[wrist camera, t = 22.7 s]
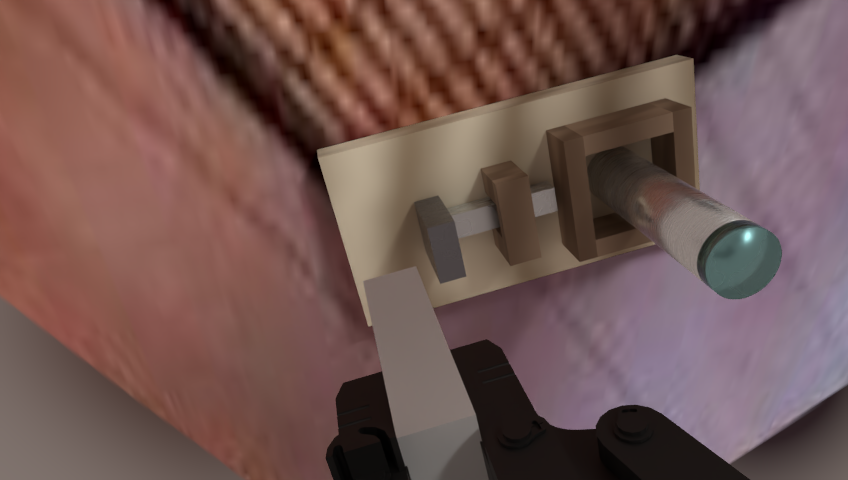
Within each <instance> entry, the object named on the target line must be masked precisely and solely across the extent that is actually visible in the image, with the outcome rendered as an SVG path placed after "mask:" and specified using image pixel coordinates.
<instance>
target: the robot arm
mask: <svg viewBox="0 0 848 480" xmlns="http://www.w3.org/2000/svg"><path fill="white" fill-rule="evenodd" d="M363 283H364V288H365V293H366V298H367V302H368V307H369V312H370V316H371V321H372V326H373V331H374V335H375V340H376V345H377V349H378V354H379V359H380V363H381V368H382V372H379V373H376V374H372V375H369V376H365V377H362V378H358V379H355V380H352V381H348V382H345V383H343V384H342V386H341V389H340V391H339V393H338V395H337V397H336V408H337V416H338V417H337V419H338V427H339V429H338V430H339V435H338V436H336V437H335V438H334V440H333V441H332V442H331V444H330V445H329V447H328V449H327V453H326V460H327V463H328V466H329V469H330V471H331V474H332V477H333V479H334V480H750V479H748V478H747V477H746V476H744V475H743V474H742V473H740V472H739V471H738V470H736V469H735V468H734V467H732V466H731V465H730V464H728V463H727V462H726V461H724V460H723V459H722V458H720V457H719V456H718V455H716V454H715V453H714V452H712V451H711V450H710V449H708V448H707V447H706V446H704V445H703V444H702V443H700V442H699V441H698V440H696V439H695V438H694V437H692V436H691V435H689V434H688V433H687V432H685V431H684V430H683V429H681V428H680V427H679V426H677V425H676V424H675V423H673V422H672V421H671V420H669V419H668V418H667V417H665V416H664V415H663V414H661V413H659V412H657V411H655V410H653V409H652V408H649V407H644V406H639V405H625V406H620V407H617V408H614V409H611V410H609V411H607V412H606V413H605V414H604V415H602V416H601V417H600V419H599V421H598V423H597V425H596V429H586V430H566V429H561V428H557V427H554V426H552V425H550V424H549V423H548V422H547V421H546V420H545V419H544V418H542V417H540V416H538V415H537V413H536V412H535V410H534V408H533V406H532V404H531V402H530V401H529V399H528V397H527V395H526V393H525V391H524V389H523V388H522V386H521V384H520V382H519V380H518V378H517V377H516V375H515V374H514V371H513V369H512V367H511V365H510V364H509V362H508V360H507V358H506V356H505V354H504V352H503V351H502V349H501V348H500V347H498V346H497V345H495V344H493V343H492V342H490V341H489V340H487V339H486V340H483V341H479V342H476V343H473V344H469V345H466V346H462V347H459V348H456V349H452V350H450V349H449V347H448V344H447V342H446V339H445V337H444V334H443V332H442V329H441V327H440V324H439V322H438V319H437V317H436V314H435V312H434V310H433V307H432V305H431V302H430V300H429V297H428V295H427V292H426V290H425V287H424V285H423V282H422V280H421V277H420V275H419V272H418V270H417V267H416V266H414V267H411V268H407V269H404V270H400V271H397V272H393V273H390V274H386V275H383V276H379V277H375V278H372V279H368V280H365V281H363Z"/></svg>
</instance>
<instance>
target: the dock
mask: <svg viewBox="0 0 848 480" xmlns="http://www.w3.org/2000/svg"><path fill="white" fill-rule="evenodd" d="M620 146H621V147H625V148H627V149H629V150H631V151H632V152H634V153H636V154H637V155H639V156H641V157H643V158H644V159H646V160H648V161H649V162H651V163H653V164H655V165H656V166H658V167H660V168H661V169H663V170H665V171H667V172H668V173H670V174H672V175H674V176H675V177H677V178H679V179H680V180H682V181H684V182H686V183H687V184H689V185H691V186H692V187H694V188H696V189H698V190H699V191H700V188H699V167H698V146H697V125H696V104H695V83H694V62H693V58H688V57H684V56H679V55H674V56H670V57H667V58H663V59H659V60H655V61H651V62H648V63H644V64H640V65H636V66H633V67H629V68H625V69H621V70H617V71H614V72H610V73H606V74H602V75H598V76H595V77H591V78H587V79H583V80H580V81H576V82H572V83H568V84H564V85H561V86H557V87H553V88H549V89H546V90H542V91H538V92H534V93H530V94H527V95H523V96H519V97H515V98H512V99H508V100H504V101H500V102H496V103H493V104H489V105H485V106H481V107H477V108H474V109H470V110H466V111H462V112H459V113H455V114H451V115H447V116H443V117H440V118H436V119H432V120H428V121H425V122H421V123H417V124H413V125H409V126H406V127H402V128H398V129H394V130H391V131H387V132H383V133H379V134H375V135H372V136H368V137H364V138H360V139H356V140H353V141H349V142H345V143H341V144H338V145H334V146H330V147H326V148H322V149H319V150H317V154H318V160H319V163H320V167H321V170H322V173H323V177H324V180H325V183H326V187H327V190H328V193H329V197H330V200H331V203H332V207H333V210H334V213H335V217H336V220H337V224H338V227H339V230H340V234H341V237H342V240H343V244H344V247H345V250H346V254H347V257H348V260H349V264H350V267H351V270H352V274H353V277H354V280H355V284H356V287H357V290H358V294H359V297H360V300H361V304H362V307H363V310H364V314H365V317H366V320H367V324H368V327H369V326H372V321H371V316H370V312H369V307H368V302H367V298H366V293H365V288H364V283H363V281H365V280H368V279H372V278H375V277H379V276H383V275H386V274H390V273H393V272H397V271H400V270H404V269H407V268H411V267H414V266H416V267H417V270H418V272H419V275H420V277H421V280H422V282H423V285H424V287H425V290H426V292H427V295H428V297H429V300H430V302H431V305H432V307H433V308H435V307H439V306H442V305H446V304H449V303H453V302H456V301H460V300H463V299H467V298H470V297H474V296H477V295H481V294H484V293H488V292H491V291H495V290H498V289H502V288H505V287H509V286H512V285H515V284H519V283H522V282H526V281H529V280H533V279H536V278H540V277H543V276H547V275H550V274H554V273H557V272H561V271H564V270H568V269H571V268H575V267H578V266H582V265H585V264H589V263H592V262H595V261H599V260H602V259H606V258H609V257H613V256H616V255H620V254H623V253H627V252H630V251H634V250H637V249H641V248H644V247H648V246H651V245H655V243H654V242H652V241H651V240H650V239H649V238H647V237H646V236H645V235H644V234H642V233H641V232H640V231H639V230H638V229H636V228H635V227H634V226H633V225H631V224H630V223H629V222H628V221H626V220H625V219H624V218H623V217H621V216H620V215H619V214H618V213H616V212H615V211H614V210H613V209H611V208H610V207H609V206H608V205H606V204H605V203H604V202H603V201H601V200H600V199H599V198H598V197H596V196H595V195H594V194H593V193H592V192H591V191H590V189H589V181H588V173H587V168H588V166H589V163H590V162H591V160H592V159H593V158H594V156H595V155H596V154H598V153H599V152H602V151H605V150H609V149H612V148H616V147H620ZM544 181H547V182H548V183H550V184H551V185H552V186H553V187H554V188H555V195H556V202H557V209H558V211H556V212H552V213H548V214H545V215H541V216H538V217H535V214H534V208H533V201H532V195H531V189H530V185H533V184H537V183H541V182H544ZM434 196H439V197H440V199H441V200H442V202H443V204H444V205H445V207H446V208H450V207H454V206H457V205H461V204H465V203H468V202H472V201H475V200H479V199H483V198H486V197H490V198H491V200H492V201H493V202H494V203H495V204H496V206H497V211H498V217H499V222H500V227H498V228H495V229H491V230H488V231H484V232H481V233H477V234H473V235H470V236H466V237H463V238H459V244H460V249H461V253H462V258H463V262H464V267H465V272H466V277H463V278H459V279H456V280H452V281H449V282H445V283H442V284H440V282H439V280H438V278H437V276H436V274H435V271H434V269H433V267H432V265H431V263H430V260H429V258H428V256H427V254H426V251H425V246H424V242H423V238H422V234H421V230H420V226H419V222H418V218H417V214H416V209H415V205H414V202H416V201H419V200H423V199H427V198H430V197H434Z"/></svg>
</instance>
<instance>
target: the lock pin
mask: <svg viewBox="0 0 848 480" xmlns="http://www.w3.org/2000/svg"><path fill="white" fill-rule="evenodd" d="M530 189H531V195H532V201H533V208H534V214H535V217H538V216H541V215H545V214H548V213H552V212H556V211H558V209H557V202H556V195H555V188H554V187H553V186H552V185H551V184H550V183H548V182H547V181H544V182H541V183H537V184H533V185H530ZM414 205H415V209H416V214H417V218H418V222H419V226H420V230H421V234H422V238H423V242H424V246H425V251H426V254H427V256H428V258H429V260H430V263H431V265H432V267H433V269H434V271H435V274H436V276H437V278H438V280H439V282H440V284H442V283H445V282H449V281H452V280H456V279H459V278H463V277H466V272H465V267H464V262H463V258H462V253H461V249H460V244H459V238H463V237H466V236H470V235H473V234H477V233H481V232H484V231H488V230H491V229H495V228H498V227H500V222H499V217H498V211H497V206H496V204H495V203H494V202H493V201H492V200H491V198H490V197H486V198H483V199H479V200H475V201H472V202H468V203H465V204H461V205H457V206H454V207H450V208H446V207H445V205H444V204H443V202H442V200H441V199H440V197H439V196H434V197H430V198H427V199H423V200H419V201H416V202H414Z"/></svg>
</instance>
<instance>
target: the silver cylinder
mask: <svg viewBox="0 0 848 480" xmlns="http://www.w3.org/2000/svg"><path fill="white" fill-rule="evenodd" d="M587 173H588V181H589V189H590V191H591V192H592V193H593V194H594V195H595V196H596V197H598V198H599V199H600V200H601V201H603V202H604V203H605V204H606V205H608V206H609V207H610V208H611V209H613V210H614V211H615V212H616V213H618V214H619V215H620V216H621V217H623V218H624V219H625V220H626V221H628V222H629V223H630V224H631V225H633V226H634V227H635V228H636V229H638V230H639V231H640V232H641V233H642V234H644V235H645V236H646V237H647V238H649V239H650V240H651V241H652V242H654V243H655V244H656V245H657V246H659V247H660V248H661V249H662V250H664V251H665V252H666V253H667V254H669V255H670V256H671V257H672V258H674V259H675V260H676V261H677V262H679V263H680V264H681V265H682V266H684V267H685V268H686V269H687V270H689V271H690V272H691V273H692V274H694V275H695V276H696V277H697V278H699V279H700V280H701V281H702V282H704V283H705V284H706V285H707V286H709V287H710V288H711V289H712V290H714V291H715V292H716V293H717V294H719V295H720V296H722V297H724V298H728V299H742V298H746V297H749V296H751V295H754V294H755V293H757V292H759V291H760V290H762V289H763V288H764V287H765V286H766V285H767V284H768V283H769V282H770V281H771V280H772V279H773V277H774V276H775V274H776V272H777V271H778V268H779V266H780V262H781V257H782V250H781V245H780V242H779V240H778V239H777V237H776V236H775V235H774V234H773V233H771V232H770V231H768V230H766V229H765V228H763V227H761V226H760V225H758V224H756V223H754V222H753V221H751V220H749V219H747V218H746V217H744V216H742V215H741V214H739V213H737V212H735V211H734V210H732V209H730V208H729V207H727V206H725V205H723V204H722V203H720V202H718V201H717V200H715V199H713V198H711V197H710V196H708V195H706V194H704V193H703V192H701V191H699V190H698V189H696V188H694V187H692V186H691V185H689V184H687V183H686V182H684V181H682V180H680V179H679V178H677V177H675V176H674V175H672V174H670V173H668V172H667V171H665V170H663V169H661V168H660V167H658V166H656V165H655V164H653V163H651V162H649V161H648V160H646V159H644V158H643V157H641V156H639V155H637V154H636V153H634V152H632V151H631V150H629V149H627V148H625V147H621V146H620V147H616V148H612V149H609V150H605V151H602V152H599V153H598V154H596V155H595V156H594V158H593V159H592V160H591V162H590V163H589V166H588V168H587Z"/></svg>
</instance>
